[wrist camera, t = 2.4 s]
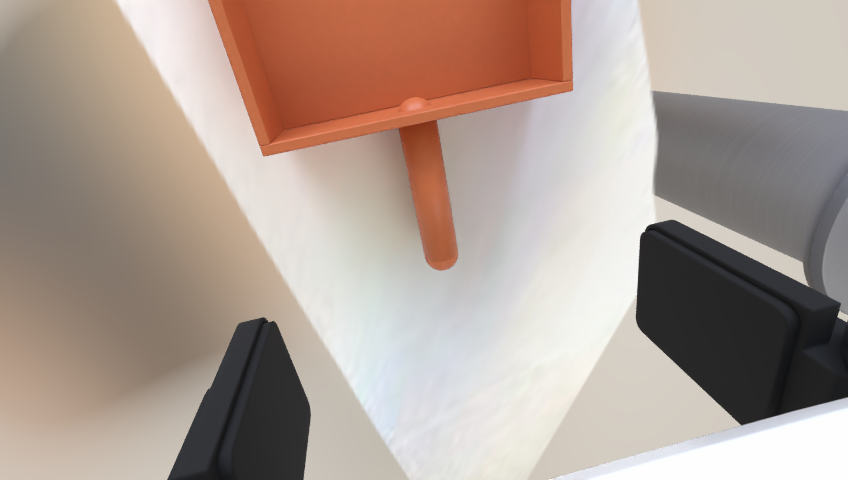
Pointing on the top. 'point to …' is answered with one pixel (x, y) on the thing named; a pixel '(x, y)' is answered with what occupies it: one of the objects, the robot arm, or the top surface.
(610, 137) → the top surface
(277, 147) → the dustpan
